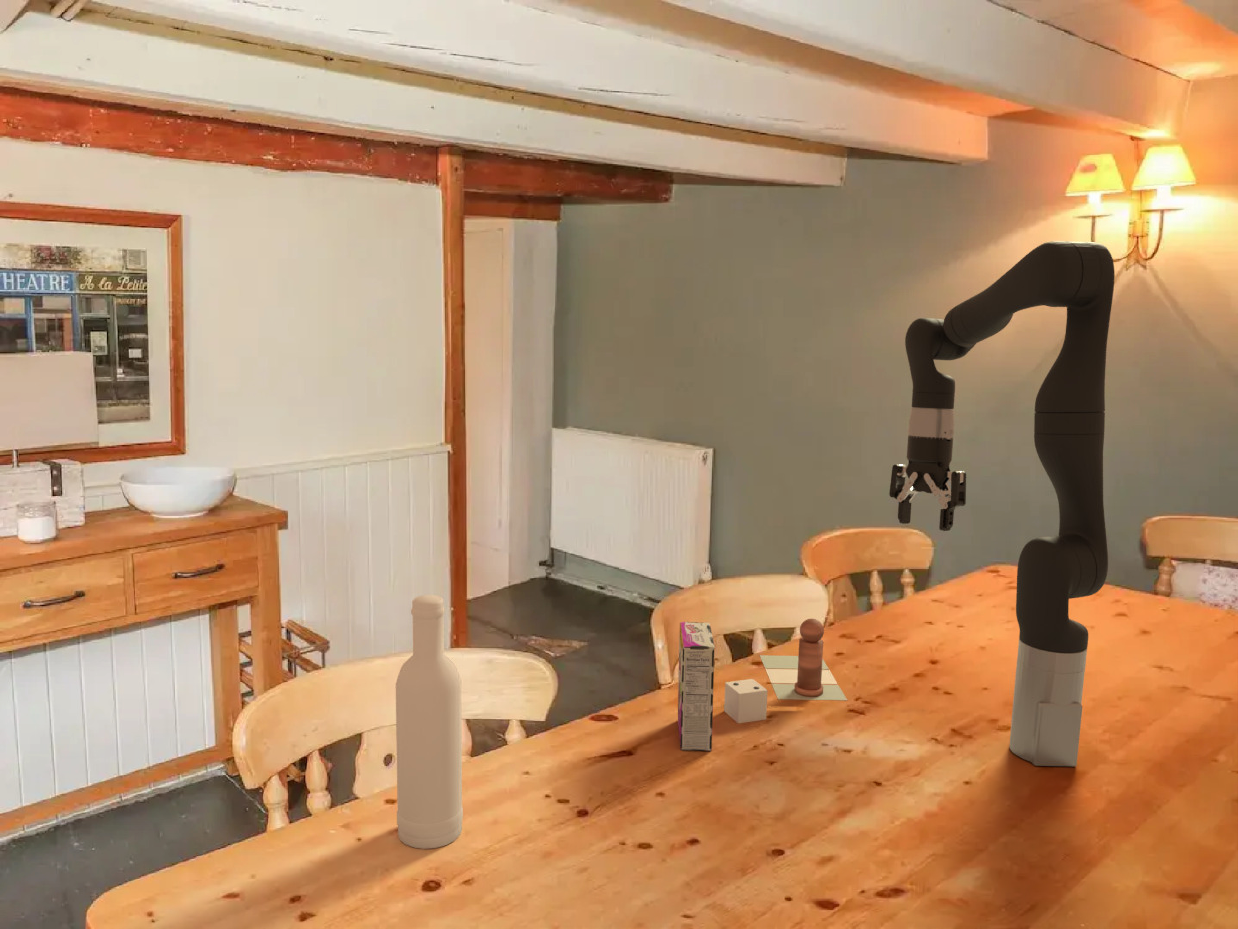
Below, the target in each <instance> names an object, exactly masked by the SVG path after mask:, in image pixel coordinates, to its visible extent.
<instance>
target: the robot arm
mask: <svg viewBox="0 0 1238 929" xmlns="http://www.w3.org/2000/svg"><path fill="white" fill-rule="evenodd" d="M1114 263H1115V262H1114V259H1113V256H1112V254H1111V252H1110V250H1109V248H1107V247H1106V246H1105V245H1104V244H1102V243H1100V242H1094V241H1093V242H1092V241H1074V240H1071V241H1070V240H1069V241H1068V240H1053V241H1048V242H1046V241H1045V242H1043V243H1042V244H1040V245H1038V246H1036V247H1035V248H1034V249H1032V250H1031V251H1029V252H1028V253H1027V254H1026V255H1024V257H1022V258H1020V260H1019V261H1018V262H1016V263H1015V264H1014V265H1013V266H1012V267H1011V268H1010V269H1009V270H1007V271H1006V272H1004V273H1003V274H1002V276H1000V277H999V278H998V279H996V281H994V282H993V283H992V284H991V285H989V286H988V287H987V288H986V289H984V290H982V291H980V292H979V293H976V294H975V295H973V296H972V297H970V298H967V299H966V300H964V301H963V302H961V303H959V304H957V305H955V306H954V307H952V308H951V309H950V310H948V312H947V313H946V315H945V317H944V319H943V318H934V317H920V318H917V319H915V320H914V321H912V322H911V323H910V325H909V327H908V328H907V331H906V333H905V338H904V340H905V341H904V345H905V351H906V357H907V360H908V367H909V370H910V376H911V381H912V395H911V397H912V398H911V408H910V409H911V410H910V414H909V420H908V431H907V432H908V433H907V434H908V435H907V448H906V459H907V460H908V463H907V465H906V464H902V463H901V464H893V465H892V467H891V468H892V469H891V475H890V476H891V477H890V483H889V492H888V494H889V497H890V498H893V499H895V500H897V503H898V504H897V505H898V507H897V508H898V509H897V519H898V520H899V524H904V525H907V524H908V525H909V524H910V523H911V514H912V502H911V501H912V500H913V498H914V497H915V496H916V495H917V494H919V493H927V494H933V497H934V498H936V499H937V500H938V502H939V504H940V506H941V507H942V508H941V509H940V512H939V526H938V527H939V531H942V532H946V531H947V532H948V531H950V530H951V529H952V528H953V525H954V516H955V515H954V514H955V509H957V508H961V507H964V506H966V503H967V498H966V497H967V494H966V493H967V473H966V472H965V470H957V471H956V470H955V471H951V468H950V464H951V462H952V460H953V448H954V447H953V445H954V434H955V432H954V431H955V414H954V412H955V411H954V409H955V396H956V395H955V393H956V380H955V379H954V377H952V376H951V375H948V374H945V373H942V372H940V371H938V369H937V367H936V364H935V360H936V361H954V360H958V359H961V358H963V357H965V356H966V355H967V354H968V353H969V352H970V351H971V350H972V349H973V348H974V347H975V346H976V345H977V344H978V343H980V342H982V341H984V340H986V339H988V338H991V337H993V336H995V335H996V334H998V333H999V332H1001V331H1003V330H1004V329H1005V328H1006V327H1007V326H1008V325H1009V324H1010V322H1011V321H1012V318H1013V316H1014V315H1015V313H1017V312H1020V311H1022V310H1026V309H1030V308H1036V307H1040V306H1046V307H1049V308H1066V324H1065V334H1064V341H1063V344H1062V347H1061V349H1060V351H1059V354H1058V355H1057V357H1056V359H1055V361H1053V362H1054V363H1053V365H1051V367H1050V369H1049V371H1048V372H1047V375H1046V376H1045V378H1044V380H1043V382H1042V384H1040V387H1039V389H1038V392H1037V394H1036V398H1035V404H1034V416H1033V417H1034V419H1033V420H1034V421H1033V422H1034V424H1033V425H1034V429H1033V432H1034V433H1033V440H1034V447H1035V451H1036V454H1037V457H1038V459H1039V461H1040V464H1041V465H1042V467H1043V468H1044V471H1045V472H1046V475H1047V476H1048V478H1049V480H1050V482H1051V485H1052V486H1053V488H1054V491H1055V494H1056V496H1057V502H1058V509H1059V510H1058V514H1059V523H1058V524H1059V527H1058V528H1059V529H1058V535H1050V536H1049V535H1048V536H1041V537H1040V536H1039V537H1035V538H1033V539H1030V540H1029V541H1028V542H1027V543H1026V544H1025V545H1024V546H1023V548H1022V549H1021V551H1020V555H1019V558H1018V563H1017V572H1016V600H1015V614H1016V615H1015V616H1016V621H1017V624H1018V627H1019V628H1018V629H1019V635H1018V646H1017V658H1016V667H1015V680H1014V688H1013V689H1014V690H1013V701H1012V708H1011V709H1012V711H1011V712H1012V713H1011V724H1010V725H1011V726H1010V735H1009V736H1010V737H1009V749H1010V751H1011V752H1012V753H1013V754H1014V755H1015V756H1017V757H1019V758H1021V759H1022V760H1024V761H1027V762H1030V763H1032V765H1034V766H1036V767H1037V766H1038V767H1040V766H1041V767H1043V766H1044V767H1077V763H1078V754H1079V743H1080V737H1081V736H1080V735H1081V725H1082V714H1083V705H1082V701H1083V691H1084V681H1085V672H1086V665H1087V652H1088V647H1089V646H1088V645H1089V631H1088V629H1087V627H1086V626H1085V625H1084V624H1082V623H1080V622H1079V621H1075V620H1073V619H1070V618H1069V607H1070V606H1069V603H1070V602H1069V600H1071V599H1078V598H1085V597H1090V596H1093V595H1095V594H1097V593H1098V592H1099V591H1100V590H1101V589H1102V588H1103V586H1104V584H1106V579H1107V575H1108V569H1109V553H1108V538H1107V529H1106V520H1105V508H1104V506H1105V504H1104V444H1105V422H1106V419H1105V418H1106V416H1105V415H1106V413H1105V412H1106V407H1105V406H1106V404H1105V403H1106V400H1105V398H1106V397H1105V396H1106V395H1105V391H1106V390H1105V386H1106V385H1105V384H1106V365H1107V364H1106V363H1107V362H1106V361H1107V347H1108V346H1107V345H1108V338H1109V337H1108V335H1109V329H1110V320H1111V313H1112V306H1113V305H1112V304H1113V298H1114V290H1115V278H1116V277H1115V265H1114ZM906 477H907V478H908V480H907V481H906ZM948 482H950V485H949V484H948Z"/></svg>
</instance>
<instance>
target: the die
mask: <svg viewBox="0 0 1238 929" xmlns="http://www.w3.org/2000/svg"><path fill="white" fill-rule="evenodd" d="M768 692H769V691H768V689H766V688H765V687H764V686H763V685H762V684H760V683H759V682H757V681H756V680H755V679H753V678H749V679H741V680H733V681H726V682H725V683H724V703H723V705H724V706H723V712H725V713H726V714H727V715H728V716H729V717H730V718H731V719H732V720H733V721H735V722H736V723H737V724H743V723H749V722H750V723H751V722H758V721H765V720H767V711H768V710H767V709H768V708H767V706H768Z"/></svg>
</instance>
